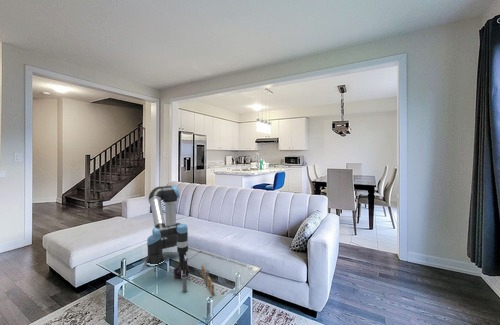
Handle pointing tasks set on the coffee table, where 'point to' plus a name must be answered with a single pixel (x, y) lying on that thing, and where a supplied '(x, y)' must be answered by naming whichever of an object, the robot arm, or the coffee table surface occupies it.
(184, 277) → the posts
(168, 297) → the coffee table surface
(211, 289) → the fence
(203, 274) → the gate
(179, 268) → the rock
